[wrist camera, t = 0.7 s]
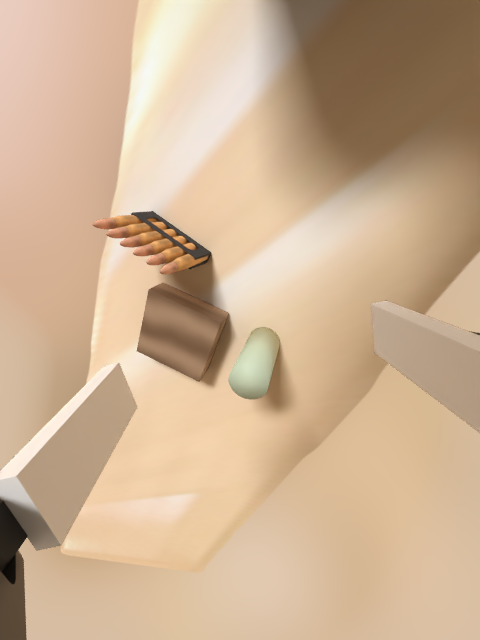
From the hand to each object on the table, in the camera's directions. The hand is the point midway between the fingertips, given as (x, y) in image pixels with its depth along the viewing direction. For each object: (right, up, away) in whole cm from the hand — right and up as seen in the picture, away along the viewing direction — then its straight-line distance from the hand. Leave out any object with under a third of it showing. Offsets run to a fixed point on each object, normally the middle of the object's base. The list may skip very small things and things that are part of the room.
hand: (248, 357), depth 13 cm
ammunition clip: (-9, +14, +25) cm, 30 cm away
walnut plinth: (-10, +1, +31) cm, 32 cm away
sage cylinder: (+3, -2, +28) cm, 28 cm away
